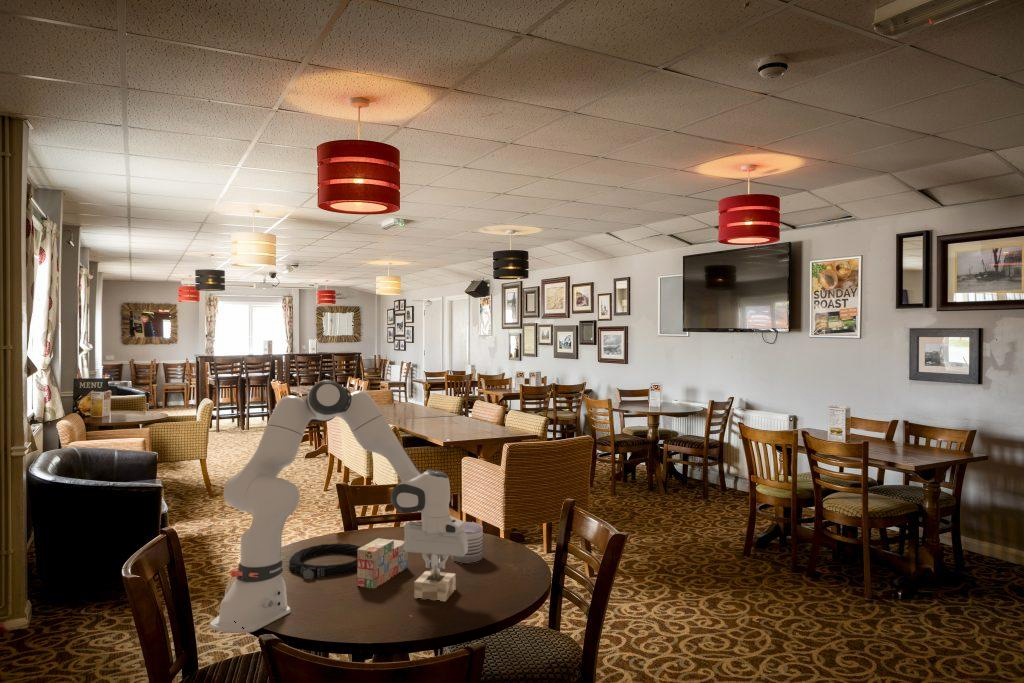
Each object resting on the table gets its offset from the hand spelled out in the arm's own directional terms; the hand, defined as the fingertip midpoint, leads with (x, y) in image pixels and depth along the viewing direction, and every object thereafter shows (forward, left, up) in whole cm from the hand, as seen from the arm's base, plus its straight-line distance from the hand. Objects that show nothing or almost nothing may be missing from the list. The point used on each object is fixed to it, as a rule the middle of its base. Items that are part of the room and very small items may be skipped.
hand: (435, 567), depth 206 cm
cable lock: (+16, +45, -9) cm, 48 cm away
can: (+34, 0, -8) cm, 35 cm away
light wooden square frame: (0, 0, -8) cm, 8 cm away
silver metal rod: (0, 0, -6) cm, 6 cm away
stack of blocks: (+10, +22, -8) cm, 25 cm away
